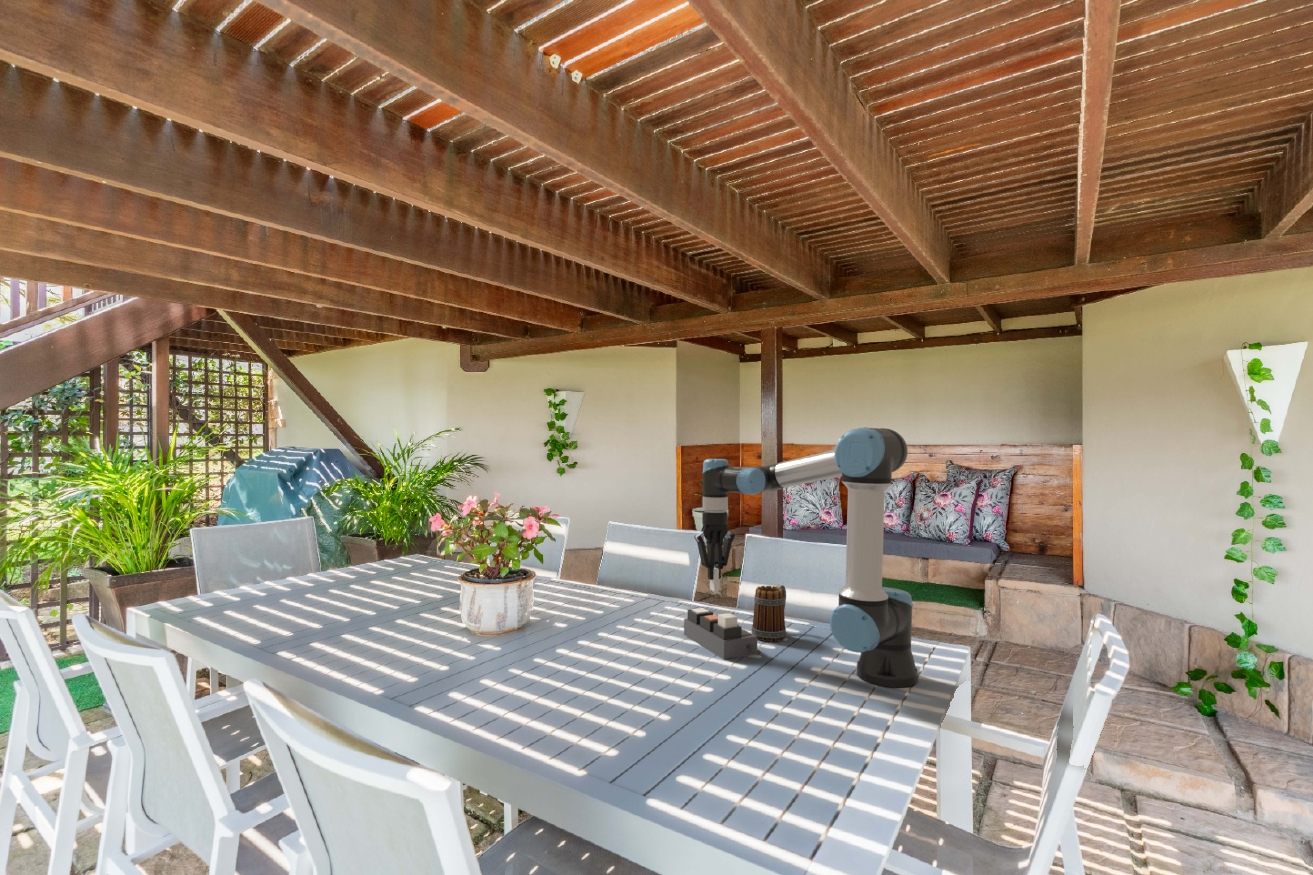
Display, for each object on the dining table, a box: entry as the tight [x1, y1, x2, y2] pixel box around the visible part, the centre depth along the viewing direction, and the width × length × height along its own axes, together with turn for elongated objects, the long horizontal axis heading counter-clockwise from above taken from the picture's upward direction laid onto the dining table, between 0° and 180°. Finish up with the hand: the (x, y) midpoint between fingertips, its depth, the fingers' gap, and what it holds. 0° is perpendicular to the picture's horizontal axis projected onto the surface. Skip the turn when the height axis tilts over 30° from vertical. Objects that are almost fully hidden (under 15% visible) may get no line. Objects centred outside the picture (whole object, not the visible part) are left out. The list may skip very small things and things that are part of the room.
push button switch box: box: [683, 607, 762, 660], centre depth 192 cm, size 30×11×8 cm, turn 25°
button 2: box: [704, 614, 718, 621], centre depth 194 cm, size 4×4×3 cm
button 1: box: [717, 612, 738, 628], centre depth 187 cm, size 4×4×3 cm
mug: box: [751, 584, 787, 643], centre depth 204 cm, size 16×11×15 cm
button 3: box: [691, 607, 710, 614], centre depth 201 cm, size 4×4×3 cm
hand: (714, 590), depth 194 cm, fingers closed
